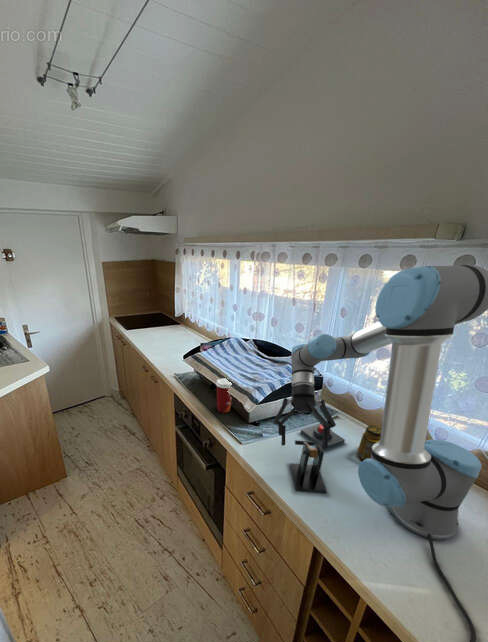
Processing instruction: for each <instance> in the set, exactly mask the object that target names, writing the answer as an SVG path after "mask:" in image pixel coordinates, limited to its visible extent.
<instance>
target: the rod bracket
mask: <svg viewBox="0 0 488 642" xmlns="http://www.w3.org/2000/svg"><path fill="white" fill-rule="evenodd" d="M315 448H316V449H317V450H318V456H317V458H313V460H312V464H309V459H310V457H309V454H310V451H309V448H308V445H307V443H304V444H303V445H302V449H301V454H300V459H299V463H293V462H291V463H289V470H290V474H291V477H292V482H293V486H294V491H296V492H306V493H318V494H319V493H320V494H327V489H326V486H325V483H324V480H323V477H322V475H321V472H320V471H321V467H322V465H323V460H324V455H325V450H323V449H322V447H321V444H317V445H316V447H315Z"/></svg>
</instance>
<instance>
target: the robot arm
mask: <svg viewBox="0 0 488 642" xmlns="http://www.w3.org/2000/svg"><path fill="white" fill-rule="evenodd" d="M374 307H375V308H374V310H375V311H374V312H375V317H376V318H378V319H377V321H376V322H375V323H373V324H370V325H369V326H366V327H365V328H363V329H360V330H358V331H356V332H354V333H352V334H350V335H345V336H336V337H335V336H334V337H333V335H331V334H328V333H325V332H323V333H319V334H318V335H316V336H315V337H313V338H312V339H311V340H309V341H308V342H307V343H298V344H296V345H294V346H293V347H292V348H291V355H290V361H291V364H290V365H291V387H292V388H291V399H289V398H287V397H284V398H283V400H282V402H281V403H282V404H281V407H280V408H279V410H278V412H277V413H276V416H275V418H274V419H273V422H272V424H273V425H275V426H277V428H278V436H281V446H283V447H284V446H286V425H284V424H285V423H286V422H287V421H288V420H289V418H290V417H292V416H293V414H294V413H296V412H297V413H304V414H308V413H309V414H311V415H312V416H313V417H314V418H315V419H316V420H317V422H318V424H321V425H322V426H323V427H324V429H322V439H323V448H327V447H328V439H327V438H330V429H332V428H334V427H336V426H337V423H336V422H335V420H334V419H333V417H332V415H331V413H330V412H329V409H328V408H327V406H326V402H325V399H321V400H316V398H315V397H316V396H315V395H316V394H315V366H317V365H318V364H320V363H321V362H326V361H327V362H328V361H337V360H346V359H348V360H349V359H360V358H365V357H368V356H369V355H370V353H372V352H373V351H376V350H378V349H381V348H384V347H387V346H390V345H391V350H390V358H389V367H388V374H387V382H386V391H385V399H384V406H383V407H384V408H383V414H382V423H381V429H382V430H381V438H380V441H379V442H377V443H375V444H374V445H373V446H372V452H371V458H370V459H365V460H363V461H362V462H361V461H360V463H359V464H358V468H357V474H358V479H359V482H360V484H361V487H362V488H363V490H364V492H365V494H367V496H368V497H369V498H370V499H371V500H372V501H373V502H374V503H376V504H377V505H379V506H381V507H384V508H385V507H387V508H389V511H390V513H391V515H392V516H393V518H394V519H395V520H396V521H397V522H398V523H399V524H400V525H402V526H403V527H404V528H405V529H407V530H408V531H410V532H411V533H414V534H415V535H418V536H420V537H424V538H425V539H426V538H427V539H428V543H429V547H430V553H431V558H432V561H433V563H434V566H435V568H436V570H437V573H438V574H439V576H440V577H441V579H442V581H443V583H444V585H445V586H446V588H447V589H448V591H449V594H450V595H451V597H452V599H453V600H454V602H455V603H456V605H457V607H458V609H459V610H460V612H461V613H462V615H463V617H464V618H465V620H466V622H467V624H468V626H469V627H468V628H469V630H470V640H469V642H477V633H476V629H475V626H474V623H473V621H472V619H471V618H470V615H469V614H468V613H467V611H466V609H465V608H464V606H463V604H462V603H461V602H460V600H459V598H458V596H457V595H456V593H455V591H454V589H453V588H452V586H451V584H450V582H449V581H448V579H447V578H446V576H445V574H444V572H443V571H442V568H441V567H440V565H439V563H438V560H437V556H436V552H435V551H436V550H435V546H434V542H433V541H445V540H449V539H451V538H453V537H454V536H455V534H456V532H457V531H458V528H459V519H458V517H459V508H460V507H461V505H462V503H463V501H464V500H465V499H466V496H467V495H468V493H469V491H471V488H472V487H473V485H474V483H475V481H476V480H477V479H478V478H479V474H480V471H481V470H482V463H481V461H480V459H479V458H478V457H477V456H476V455H475V454H474V453H472V451H470V450H468V449H466V448H465V447H462V446H460V445H458V444H455V443H453V442H450V441H447V440H442V439H435V438H432V439H431V438H430V439H427V432H428V427H429V421H430V414H431V409H432V404H433V396H434V391H435V386H436V379H437V374H438V367H439V362H440V355H441V350H442V344H443V343H444V342H445V341H446V340H448V339H449V338H451V337H452V336H453V335H454V331H455V326H456V325H459V324H463V323H466V322H469V321H472V320H474V319H476V318H478V317H480V316H481V315H483V314H484V313H485V312H487V311H488V270H487V269H485V268H484V267H481V266H479V265H474V264H460V265H425V266H423V265H422V266H417V267H411V268H406V269H402V270H400V271H398V272H396V273H395V274H394V275H392V276H391V277H390V278H389V279H388V281H387V282H385V283H384V284H383V285H382V287H381V289H380V290H379V293H378V295H377V297H376V301H375V306H374ZM289 404H290V405H291V406H292V407H293V408H291V410H290V411H288V413H287V414H286V415H285V416H284V417H283V418H282V419H281V420H280V418H281V417H282V415H283V413H284V411H285V409H286V407H287V406H289ZM316 406H317V407H318V408H319V409H320V412H321V413H322V415H323V416H322V415H321V413H319V411H318V409H317V408H316ZM426 439H427V440H426Z"/></svg>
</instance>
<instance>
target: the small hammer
mask: <svg viewBox="0 0 488 642" xmlns="http://www.w3.org/2000/svg"><path fill="white" fill-rule="evenodd" d="M304 443H307V445H308V448H309V451H310V454H309V459H310V458H312V459H314V458H317V456H318V450H317V449H316V447H314V446H315V443H314V441H310V440H296V439H295V440H294V445H296V446H303V444H304Z"/></svg>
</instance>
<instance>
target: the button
mask: <svg viewBox="0 0 488 642" xmlns="http://www.w3.org/2000/svg"><path fill="white" fill-rule="evenodd" d="M322 429H324V427H323V426H322V425H319V429H318V432H320V433H322Z"/></svg>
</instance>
